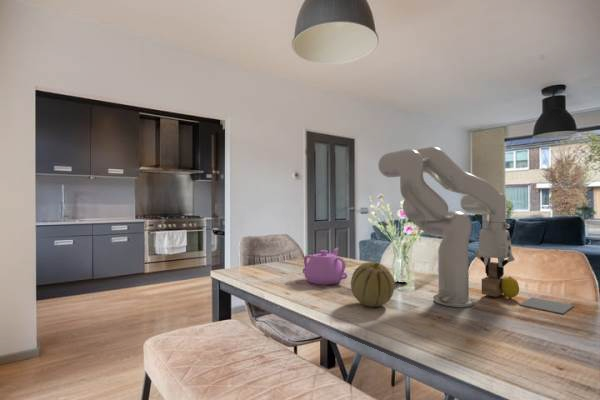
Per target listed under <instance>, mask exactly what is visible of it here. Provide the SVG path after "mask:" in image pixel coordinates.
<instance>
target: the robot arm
mask: <svg viewBox="0 0 600 400" xmlns="http://www.w3.org/2000/svg"><path fill="white" fill-rule="evenodd" d="M378 170H379V172H380V173H381V174H382V175H383V176H384V177H386V178H399V177H400V179H399V182H400V183H399V185H400V186H399V187H400V191H399V192H400V194H401V197H402V198H403V203H402V209H403V214H404V215H405V217H406V218H407V220H409V221H410V222H412V223H413V224H414V225H415V226H416V227H417V228H419V229H420V230H421V231H422V232H424V233H425V234H427V235H428V236H432V237H439V238H442V240H441V242H440V244H439V247H438V258H437V259H438V294H437V293H436V294H434V295H433V300H434V302H435V303H436V304H439V305H442V306H446V307H451V308H469V307H472V306H473V305H474V303H475V301H474V300H473V298H471V297H469V296H470V295H469V288H470V287H469V286H470V285H469V283H470V282H469V281H470V280H469V278H470V277H469V244H470V236H471V232H472V219H471V218H470V217H469V215H467V214H466V213H464V212H462V211H460V210H459V211H458V210H449V206H448V204H447V201H446V200H445V199H444V198H443V197H442V196H441V195H440V194H438V193H437V192H436V191H435V190H434V189H433V188H431V186H430V185H428V183H427V182H426V181H425V177H424V173H426V174H428V175H429V176H430V177H431V178H433V179H434V180H435V181H436V182H437V183H438V184H439V185H440V186H441V187H442V188H443V189H445V190H447V191H450V192H453V193H456V194H461V195H463V197H462V198H461V200H460V206H461V209H462V210H463V211H465V212H467V213H470V214H478V215H479V214H480V215H481V214H482V216H481V217H482V224H481V225H482V229H481V230H480V231H479V237H478V245H477V246H478V249H477V251H476V253H475V255H474V256H475V257H476V258H477V259H479V260H480V261H481V262H482V263H483V265H484V267H485V269H484V270H485V271H484V272H485V275H486V277H488V276H489V266H488V263H490V262H492V261H491V259H494V258H495V259H497V263H498V267H497V277H498V278H501V277H502V276H504V273H505V272H504V269H505V268H504V267H505V266H506V265H508V264H509V263H511V262H514V261H515V257H514V255H513V252H512V251H513V250H512V240H511V236H510V231H509V230H507V229H510V228H511V224H510V223H508V222H507V221H506V220H507V218H506V215H507V214H506V213H507V211H506V210H507V209H506V208H507V207H506V206H507V205H506V203H507V202H506V201H507V200H506V195H505V194H504V193H500V192H499V190H498V189H497V188H496V187H495V186H494V185H493V184H491V183H490V182H488V181H487V180H485V179H483V178H481V177H478V176H476V175H474V174H472V173H469V172H467V171H465V170H463V169H462V168H461V167H460V166H459V164H457V163H456V162H455V161H454V160H453V159H452V158H451V157H450V156H449V155H448V154H447V153H446V152H444V151H443V149H441V148H439V147H436V146H428V147H424V148H417V149H410V148H409V149H401V150H398V151H392V152H386V153H384V154H383V155H381V157H380V159H379V161H378Z"/></svg>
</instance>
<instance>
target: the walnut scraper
mask: <svg viewBox="0 0 600 400" xmlns="http://www.w3.org/2000/svg"><path fill="white" fill-rule="evenodd" d="M488 266H489V276H485V277H483V278H481V295H486V296H489V297H490V296H491V297H499V296H501V295H504V294H503V292H502V290H501V283H502V281H503V279H505V278H507V277H508V276H504V275H503V276H502V277H501V278H498V277H497V267H498V261H497V262H496V261H495V262H494V261H490V263H488Z"/></svg>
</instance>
